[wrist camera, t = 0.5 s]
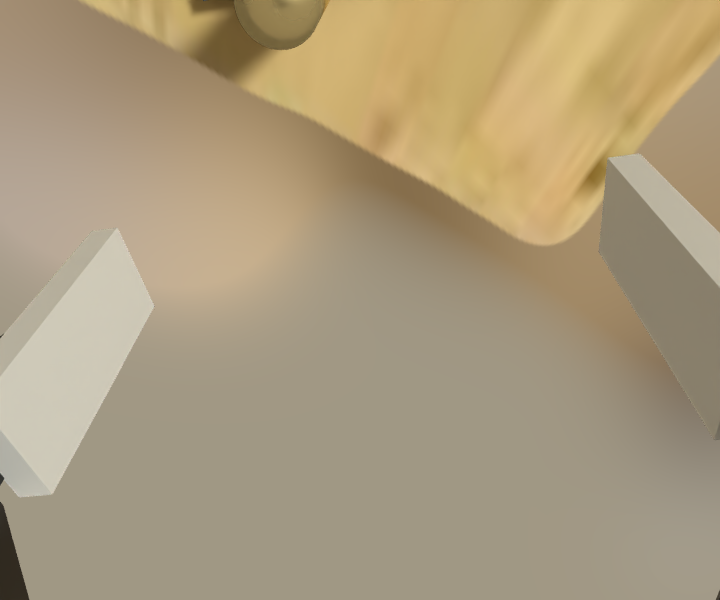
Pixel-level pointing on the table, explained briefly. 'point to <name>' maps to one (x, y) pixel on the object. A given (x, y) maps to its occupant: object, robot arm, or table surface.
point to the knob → (280, 20)
